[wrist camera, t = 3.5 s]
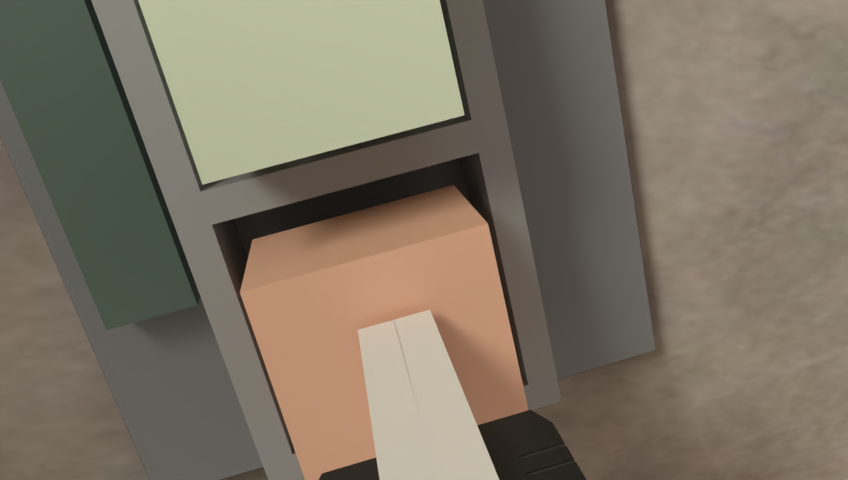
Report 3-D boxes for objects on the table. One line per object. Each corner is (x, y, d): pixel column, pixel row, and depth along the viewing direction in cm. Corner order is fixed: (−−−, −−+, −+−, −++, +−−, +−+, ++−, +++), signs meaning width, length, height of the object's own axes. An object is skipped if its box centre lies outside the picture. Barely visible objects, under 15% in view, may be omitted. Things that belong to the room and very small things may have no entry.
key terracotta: (311, 416, 19) (312, 501, 15) (252, 239, 17) (239, 292, 14) (493, 361, 19) (533, 434, 16) (453, 184, 18) (488, 223, 14)
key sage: (222, 151, 16) (202, 184, 13) (145, -82, 15) (99, -111, 12) (432, 96, 17) (465, 115, 14) (379, -137, 15) (401, -180, 12)
